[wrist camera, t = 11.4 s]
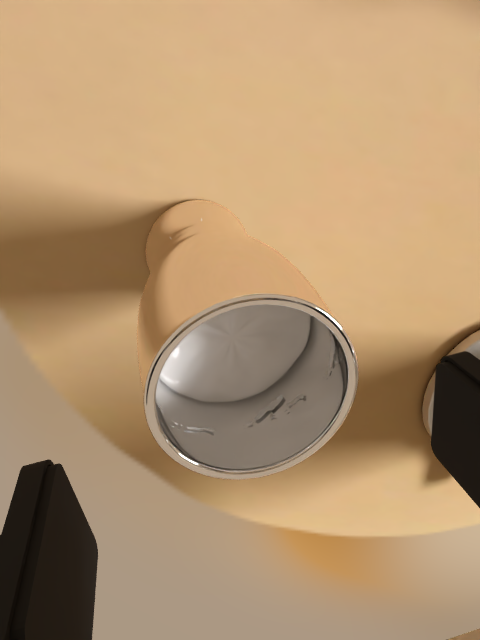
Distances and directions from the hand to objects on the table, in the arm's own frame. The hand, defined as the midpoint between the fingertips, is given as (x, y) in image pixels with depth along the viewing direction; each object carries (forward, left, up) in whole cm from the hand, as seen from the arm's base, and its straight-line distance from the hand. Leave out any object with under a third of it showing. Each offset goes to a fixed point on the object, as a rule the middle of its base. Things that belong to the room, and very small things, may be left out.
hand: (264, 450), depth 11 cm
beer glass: (0, 0, -18) cm, 18 cm away
